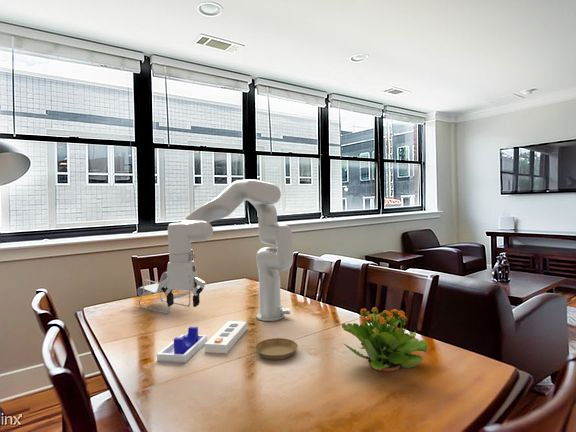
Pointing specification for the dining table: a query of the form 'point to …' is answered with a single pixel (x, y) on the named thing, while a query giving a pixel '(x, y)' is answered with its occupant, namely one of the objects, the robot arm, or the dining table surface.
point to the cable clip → (186, 341)
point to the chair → (156, 288)
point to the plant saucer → (276, 348)
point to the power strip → (226, 337)
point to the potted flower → (386, 341)
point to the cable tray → (169, 355)
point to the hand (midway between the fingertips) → (183, 305)
